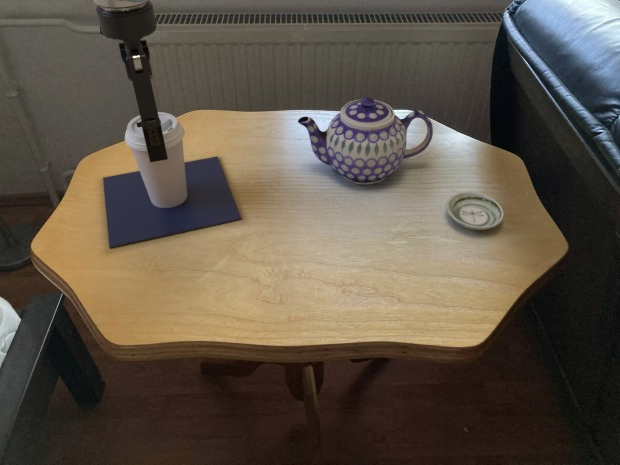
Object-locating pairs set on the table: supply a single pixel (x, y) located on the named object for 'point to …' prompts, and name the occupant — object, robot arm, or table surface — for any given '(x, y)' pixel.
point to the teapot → (365, 140)
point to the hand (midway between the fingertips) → (153, 137)
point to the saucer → (474, 210)
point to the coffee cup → (161, 162)
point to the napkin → (167, 221)
